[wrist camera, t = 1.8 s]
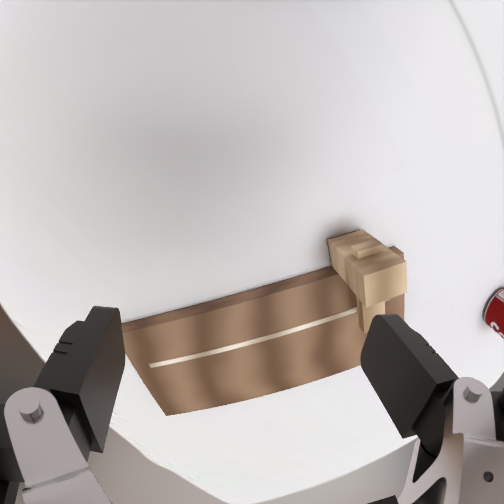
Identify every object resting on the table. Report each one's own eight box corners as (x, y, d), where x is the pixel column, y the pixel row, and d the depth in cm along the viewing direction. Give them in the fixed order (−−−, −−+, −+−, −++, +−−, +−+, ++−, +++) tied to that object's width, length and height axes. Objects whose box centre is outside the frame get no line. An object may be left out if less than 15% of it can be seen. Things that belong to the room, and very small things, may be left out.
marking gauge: (361, 223, 31) (406, 253, 23) (369, 299, 34) (404, 341, 27) (326, 233, 31) (362, 268, 23) (337, 309, 34) (368, 356, 26)
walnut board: (394, 246, 33) (404, 253, 31) (395, 339, 38) (402, 348, 36) (119, 324, 32) (114, 335, 30) (167, 404, 38) (166, 416, 36)
